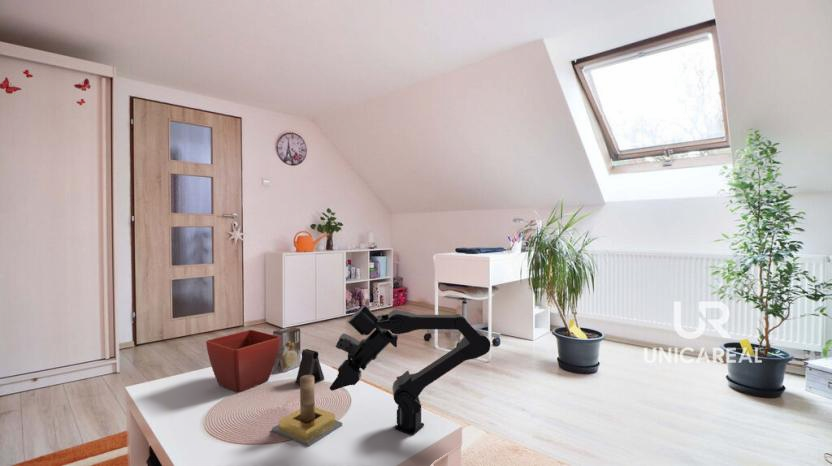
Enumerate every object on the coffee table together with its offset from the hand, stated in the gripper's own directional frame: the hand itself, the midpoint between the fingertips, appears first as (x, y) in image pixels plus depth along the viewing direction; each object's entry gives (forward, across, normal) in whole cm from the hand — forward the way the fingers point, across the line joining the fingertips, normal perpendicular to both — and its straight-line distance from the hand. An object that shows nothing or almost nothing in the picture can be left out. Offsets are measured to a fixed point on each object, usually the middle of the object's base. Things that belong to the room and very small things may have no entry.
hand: (334, 382), depth 111 cm
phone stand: (+22, -33, -3) cm, 40 cm away
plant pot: (+40, -31, -20) cm, 54 cm away
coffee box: (+32, -47, -12) cm, 58 cm away
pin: (+14, 0, +3) cm, 15 cm away
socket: (+15, 0, +4) cm, 16 cm away
